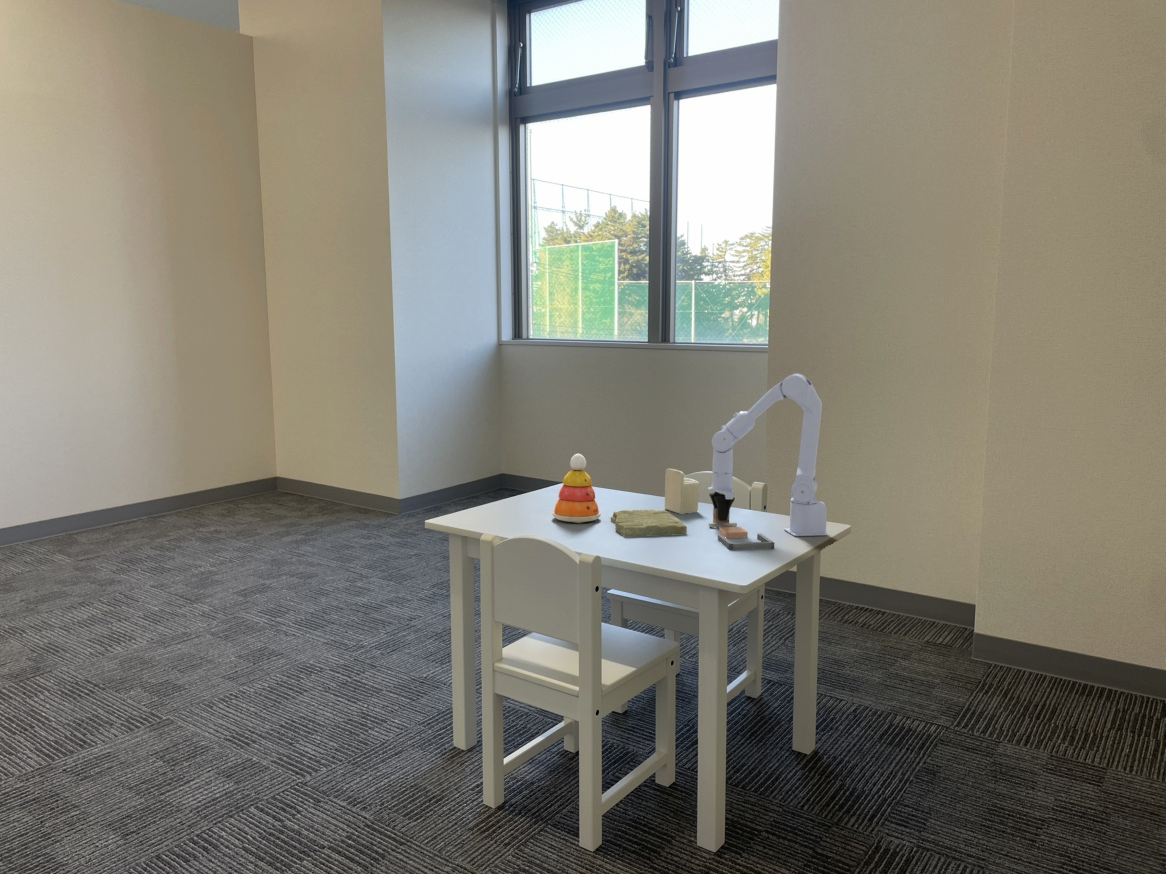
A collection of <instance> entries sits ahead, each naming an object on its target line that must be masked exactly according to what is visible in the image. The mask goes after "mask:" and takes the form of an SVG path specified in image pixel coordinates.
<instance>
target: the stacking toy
mask: <svg viewBox="0 0 1166 874" xmlns="http://www.w3.org/2000/svg"><path fill="white" fill-rule="evenodd" d="M569 466H570V468H571V469H572V470H570V471H568V472H567V474H565V475H564V478H563V480H562V486H561V488H560V490H559V492H558V500H557V501H556V504H555V506H554V510H553V511H552V513H551V514H552V517H553V518H554V519H556V520H558V521H562V522H568V523H576V524H581V523H586V522H593V521H596V520H597V519H599V518H600V517H601V511H599V506H598V503H597V502H596V500H595V499H596V494H595V493H596V492H595V490H594V488H593V487H592V485H593V482H592V478H591V476H590V475H589V474H588V473H587V472H586V471H585V469H586V467H587V459H586V458H585V456H583V454H581V453H575V454H574V455H573V456H572V457H571V458H570V461H569Z"/></svg>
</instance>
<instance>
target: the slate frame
mask: <svg viewBox="0 0 1166 874" xmlns="http://www.w3.org/2000/svg"><path fill="white" fill-rule="evenodd" d="M756 540H757V542H755V541H753V542H731V540H729V538H725V537H724V536H723V535H721V534H717V542H719V543H720V542H721V543H722V544H721V543H720V544H721V545H723V546H724V547H725V546H726V547H727V548H726V547H725V548H726V549H728V550H729V551H736V550H737V551H740V550H771V549H772V550H773V549H775V542H774V541H773V540H771V539H770V538H768V537H767V536H765V535H764V534H762V533H757V534H756ZM760 541H761V542H760Z"/></svg>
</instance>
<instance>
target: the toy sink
mask: <svg viewBox="0 0 1166 874" xmlns="http://www.w3.org/2000/svg"><path fill="white" fill-rule="evenodd" d="M664 484H665V485H664V486H665V487H664V488H665V489H664V510H666V511H671V512H673V513H675V514H676V513H677V514H680V515H685V513H688V514H693V513H692V512H695V513H698V512H697V511H699V492H700V491H699V490H700V489H699V487H700V485H701V484H700V481H697V479H696V480H695V479H692V478H688V477H687V475H686V474H685V472H683V471H681V470H678V469H675V468H666V469H665V483H664Z"/></svg>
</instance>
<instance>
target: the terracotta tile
mask: <svg viewBox="0 0 1166 874" xmlns="http://www.w3.org/2000/svg"><path fill="white" fill-rule="evenodd" d="M720 533H721V534H722V535H723V536H724V537H726V539H742V538H743V537H744V538H745V537H746V538H745V539H747V538H748V535H749V534H748V531H747V530H745V529H744V528H743V527H741V526H737V527H720V528H719V534H720ZM721 534H720V535H721ZM739 537H741V538H739ZM744 538H743V539H744Z"/></svg>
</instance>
